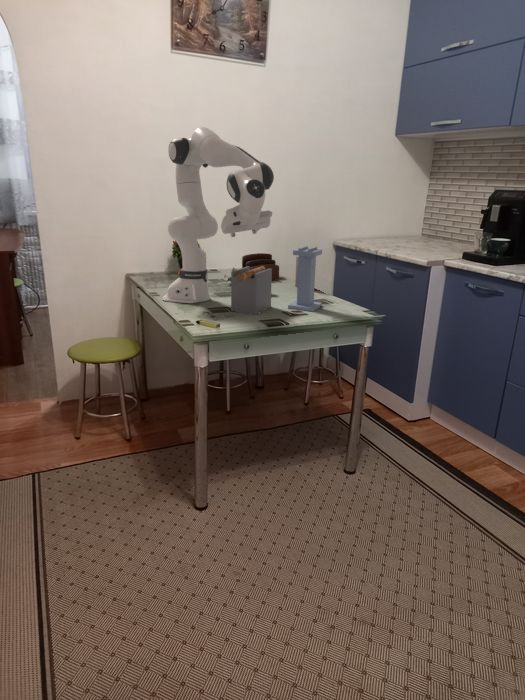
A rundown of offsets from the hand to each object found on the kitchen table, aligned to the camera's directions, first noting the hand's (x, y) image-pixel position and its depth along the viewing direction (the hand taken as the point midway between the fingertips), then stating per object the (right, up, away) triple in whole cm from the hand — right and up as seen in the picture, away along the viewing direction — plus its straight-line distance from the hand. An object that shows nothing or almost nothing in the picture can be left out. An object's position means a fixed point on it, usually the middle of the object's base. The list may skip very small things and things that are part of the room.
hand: (243, 234), depth 211 cm
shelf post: (+28, -29, +20) cm, 45 cm away
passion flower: (-6, -13, +64) cm, 66 cm away
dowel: (+3, -16, +5) cm, 17 cm away
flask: (+29, -15, +61) cm, 69 cm away
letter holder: (+7, -7, +85) cm, 86 cm away
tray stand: (+3, -30, +15) cm, 34 cm away
